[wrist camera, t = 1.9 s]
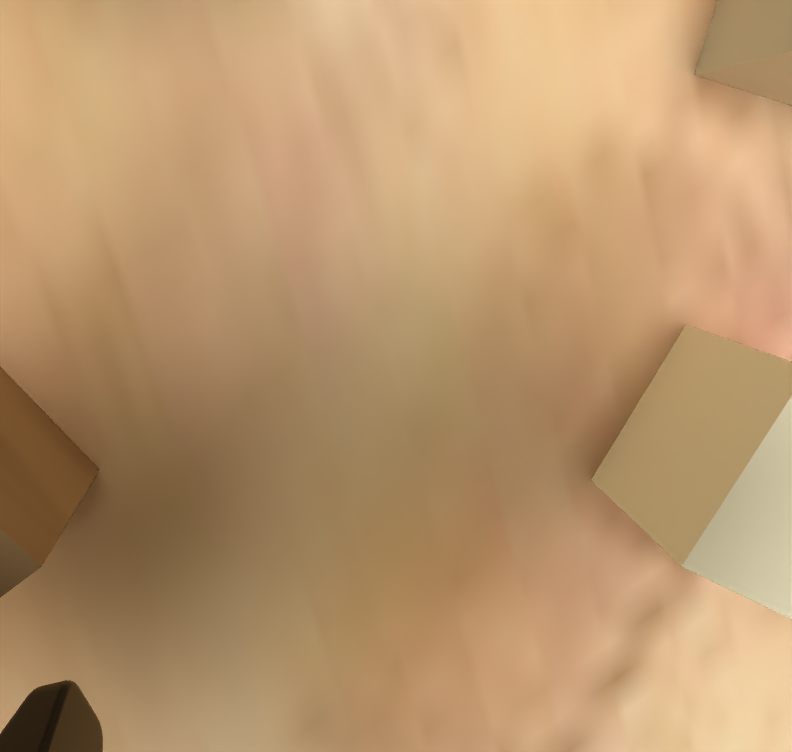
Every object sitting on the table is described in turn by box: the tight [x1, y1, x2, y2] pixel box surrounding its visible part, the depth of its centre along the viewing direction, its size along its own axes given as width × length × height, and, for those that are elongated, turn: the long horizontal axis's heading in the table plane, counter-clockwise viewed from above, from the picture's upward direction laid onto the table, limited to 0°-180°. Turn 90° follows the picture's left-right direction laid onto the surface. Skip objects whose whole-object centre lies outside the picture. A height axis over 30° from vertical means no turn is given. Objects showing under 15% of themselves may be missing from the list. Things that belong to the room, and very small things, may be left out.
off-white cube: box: [591, 325, 792, 619], centre depth 19 cm, size 5×5×5 cm
